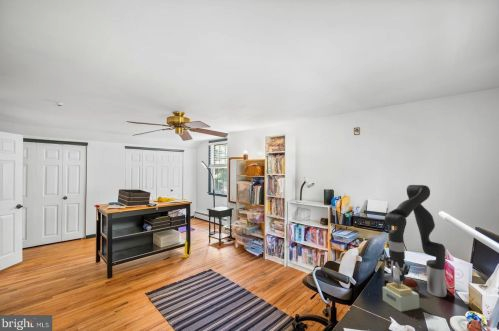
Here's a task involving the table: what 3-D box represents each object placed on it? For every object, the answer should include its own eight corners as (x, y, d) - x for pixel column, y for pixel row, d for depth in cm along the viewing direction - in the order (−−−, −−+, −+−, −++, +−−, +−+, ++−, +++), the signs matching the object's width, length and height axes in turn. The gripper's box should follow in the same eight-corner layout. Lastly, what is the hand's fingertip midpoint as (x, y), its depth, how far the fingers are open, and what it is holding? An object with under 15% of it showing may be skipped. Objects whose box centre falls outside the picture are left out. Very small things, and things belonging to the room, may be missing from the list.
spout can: (397, 279, 127) (396, 261, 127) (404, 283, 122) (403, 264, 123) (391, 281, 125) (390, 262, 126) (398, 284, 121) (397, 265, 122)
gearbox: (396, 294, 141) (395, 278, 142) (419, 307, 127) (418, 289, 127) (378, 297, 138) (378, 280, 138) (400, 311, 123) (399, 292, 124)
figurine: (379, 276, 150) (401, 270, 156) (380, 288, 150) (401, 282, 156) (400, 287, 136) (422, 281, 142) (400, 301, 136) (423, 294, 142)
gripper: (413, 252, 119) (415, 284, 118) (390, 244, 133) (391, 272, 132) (403, 254, 117) (404, 286, 116) (380, 245, 131) (382, 274, 130)
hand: (397, 278), depth 124 cm, fingers closed on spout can, 4 cm apart
